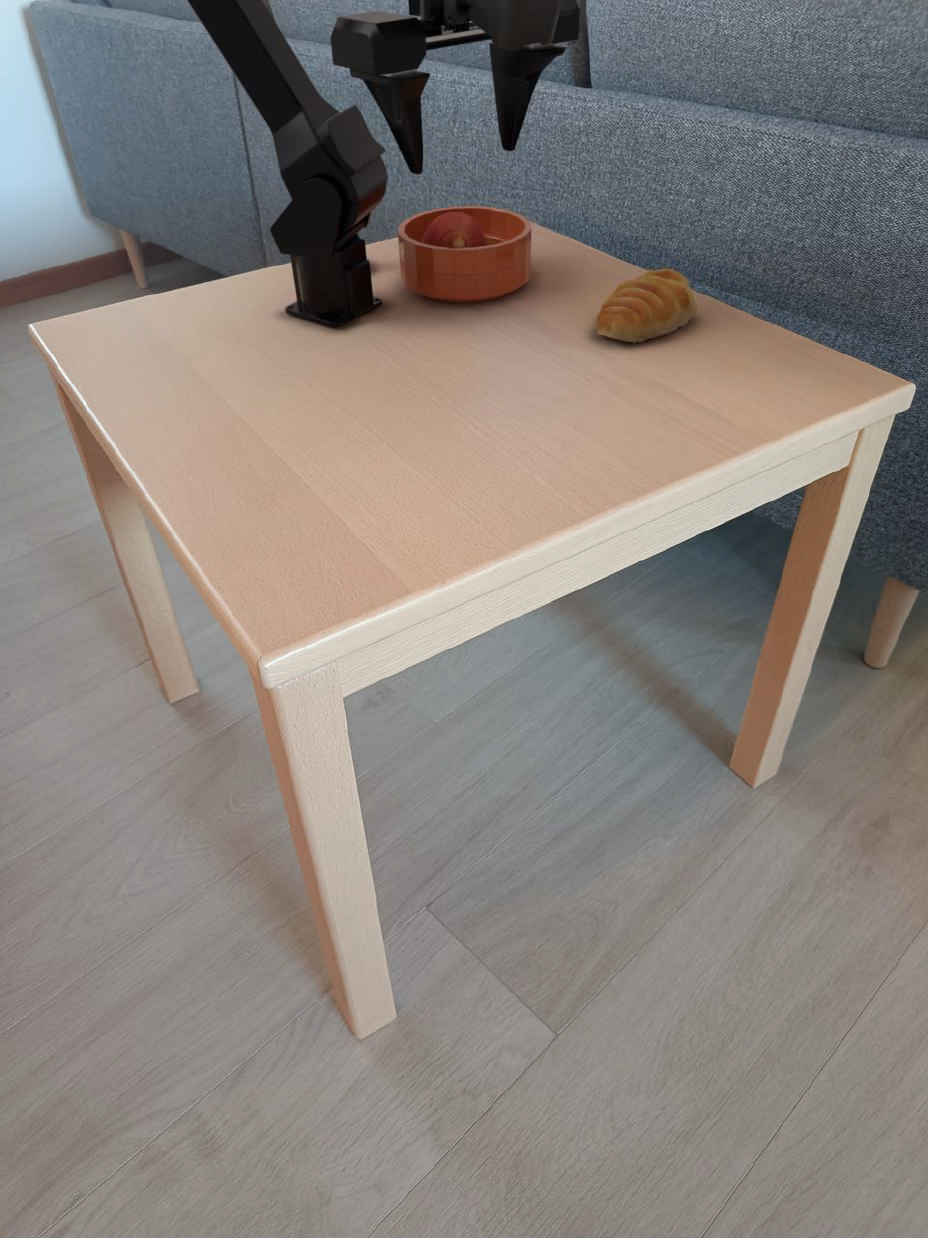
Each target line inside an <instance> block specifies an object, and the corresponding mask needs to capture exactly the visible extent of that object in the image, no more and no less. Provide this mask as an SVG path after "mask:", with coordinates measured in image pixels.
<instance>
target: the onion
mask: <svg viewBox="0 0 928 1238" xmlns="http://www.w3.org/2000/svg"><path fill="white" fill-rule="evenodd" d="M423 244H427V245H432V246H436V247H448V248H474V247H481V246H486V240H485V237H484V234H483V231H482V228H481V227H480V226H479V224H478V223H477V222H476V221H475V219H474V218H473V217H471V216H469V215H467V214H465V213H463V212H448V213H446V214H443V215H440V216H438V217H437V218H436V219H435V220H434V221H433V222H432V223H431V224H430V225H429V227H428V229H427V231H426V233H425V235H424V237H423Z"/></svg>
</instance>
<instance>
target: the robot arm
mask: <svg viewBox="0 0 928 1238" xmlns="http://www.w3.org/2000/svg"><path fill="white" fill-rule="evenodd" d="M186 1H187V3H188V5H189V6H190V8H191V9H192V10H193V13H194V14H195V15H196V17H197V19H198V21H200V23H201V25H202V27H203V28H204V29H205V32H206V33H207V34H208V36H209V37H210V39H211V41H212V42H213V43H214V45H215V46H216V48H217V50H218V51H219V53H220V54H221V56H222V57H223V59H224V61H225V62H226V64H227V66H228V67H229V69H230V70H231V72H232V74H234V76H235V78H236V79H237V81H238V83H239V84H240V86H241V87H242V89H243V90H244V92H245V94H246V95H247V97H248V98H249V100H250V102H251V103H252V104H253V106H254V107H255V109H256V111H257V112H258V114H259V115H260V117H261V118H262V120H263V121H264V123H265V124H266V126H267V127H268V129H269V132H270V134H271V137H272V142H273V146H274V152H275V155H276V160H277V166H278V170H279V175H280V177H281V180H282V181H283V183H284V186H285V188H286V190H287V192H288V194H289V196H290V198H291V201H290V202H289V203H288V205H287V206H286V207H285V209H284V210H283V211H282V213H280V215H279V216H278V218H276V220H275V221H274V223H273V224H272V225H271V226H270V228H269V229H270V230H269V231H270V234H271V237H272V239H273V241H274V242H275V244H276V247H277V249H278V251H279V252H280V254H281V255H288V256H289V258H290V264H291V265H290V266H291V271H292V277H293V284H294V289H295V290H294V291H295V297H296V301H295V302H293V303H291V304H289V305H287V306H286V307H284V310H285V314H287V315H290V316H293V317H296V318H300V319H303V320H306V321H309V322H313V323H316V324H320V325H323V326H326V327H330V328H333V329H340V328H342V327H343V326H345V325H348V324H349V323H351V322H353V321H355V320H357V319H359V318H361V317H363V316H365V315H366V314H369V313H371V312H373V311H374V310H376V309H379V308H380V307H382V306H383V305H384V301H383V298H381V297H377V296H374V292H373V290H374V289H373V281H372V280H373V279H372V271H371V261H370V260H369V259H367V258H368V257H367V246H366V240H365V239H364V238H360V235H359V234H358V233H360V232H361V231H362V230H363V229H365V228H367V227H368V226H370V225H369V224H370V222H371V217H372V213H373V210H374V209H376V208H377V206H379V204H380V203H382V201H383V200H384V199H383V198H384V197H385V194H386V192H387V191H386V190H387V183H388V178H389V176H388V171H387V167H386V164H385V163H384V162H385V161H384V159H383V158H382V156H381V155H383V154H384V153H385V152H386V148H385V147H383V145H381V144H380V143H379V142H378V141H377V140H376V139H375V137H374V136H373V135H372V133H371V131H370V129H369V127H368V125H367V122H366V120H365V117H364V115H363V113H362V112H361V110H360V108H359V107H358V106H357V105H356V104H352V105H351V106H349V107H347V108H345V109H343V110H342V111H339V110H338V109H337V108H335V107H334V106H333V105H331V103H329V102H328V101H327V100H325V99H324V98H323V97H322V95H321V94H320V93H319V91H318V90H317V88H316V86H315V85H314V83H313V82H312V80H311V78H310V77H309V75H308V73H307V72H306V71H305V68H304V67H303V65H302V64H301V62H300V60H299V59H298V57H297V56H296V54H295V51H294V50H293V49H292V47H291V45H290V44H289V43H288V41H287V39H286V38H285V36H284V34H283V32H282V30H281V29H280V28H279V26H278V24H277V23H276V21H275V19H274V18H273V16H272V14H271V13H270V11H269V9H268V8H267V6H266V4H265V2H264V1H263V0H186ZM407 3H408V15H404V14H399V13H395V12H394V13H393V12H387V11H382V10H377V11H368V12H361V13H355V14H347V15H341V16H337V19H336V21H335V24H334V25H333V29H332V31H331V34H330V37H329V38H330V47H331V48H330V49H331V56H332V58H331V59H332V65H333V66H337V67H341V68H346V69H349V74H350V77H352V78H355V79H359V80H362V81H363V83H364V85H365V87H366V88H367V90H368V91H369V93H370V94H371V95H370V96H371V97H372V98H373V100H374V101H375V103H376V105H377V107H378V108H379V110H380V112H381V113H382V115H383V117H384V119H385V121H386V124H387V125H388V127H389V129H390V130H389V131H390V132H391V134H392V136H393V139H394V140H395V143H396V144H397V146H398V149H399V151H400V153H401V155H402V158H403V160H404V162H405V164H406V166H407V168H408V170H409V172H410V173H412V174H414V175H416V176H418V175H422V174H423V172H424V138H423V137H424V135H423V117H422V96H423V95H422V94H423V93H424V90H425V88H426V86H427V83H428V81H429V79H430V77H431V73H430V72H426V71H421V70H419V68H420V66H421V64H422V63H423V61H424V59H425V57H426V55H427V54H428V53H427V52H428V51H433V50H438V49H444V48H451V47H455V46H456V47H457V46H461V45H466V44H472V43H473V44H474V43H478V42H484V41H489V40H490V41H491V42H488V46H489V56H490V57H489V58H490V66H491V73H492V83H493V92H494V100H495V110H496V119H497V127H498V133H499V138H500V142H501V147H502V149H503V150H504V151H507V152H513V151H515V150H516V147H517V144H518V141H519V138H520V135H521V131H522V129H523V125H524V122H525V119H526V116H527V113H528V110H529V105H530V103H531V100H532V97H533V94H534V91H535V89H536V86H537V84H538V81H539V79H540V77H541V75H542V73H543V72H544V70H546V68H547V67H548V66H549V65H550V64H551V63H552V62H553V61H554V60H555V59H556V58H557V57H559V56H563V55H564V54H565V53H566V51H567V46H566V45H562V43H568V42H573V41H578V40H579V39H580V38H579V37H580V22H581V21H580V20H581V9H580V7H579V5H578V3H577V0H407ZM418 17H419V18H420V19H419V18H418Z"/></svg>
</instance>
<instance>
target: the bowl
mask: <svg viewBox="0 0 928 1238" xmlns="http://www.w3.org/2000/svg"><path fill="white" fill-rule="evenodd" d="M448 212H463V213H465V214H467V215H469V216H471V217H473V218H474V219H475V221H476V222H477V223H478V224H479V226H480V227H481V228H482V231H483V234H484V237H485V240H486V246H481V247H474V248H448V247H436V246H432V245H427V244H423V237H424V235H425V233H426V231H427V229H428V227H429V225H430V224H431V223H432V222H433V221H434V220H435V219H436V218H437V217H438V216H440V215H443V214H446V213H448ZM397 240H398V241H397V242H398V253H399V254H398V255H399V268H400V269H399V270H400V279H401V282H402V284H404V286H405V287H406V288H408V289H409V290H411V291H413V292H414V293H417V294H418V295H423V296H424V297H427V298H431V299H433V300H438V301H443V302H452V303H471V302H473V303H474V302H482V301H487V300H492V299H496V298H500V297H502V296H505V295H507V294H509V293H512V292H514V291H516V290H517V289H519V288H521V287H523V286H524V285H526V283H527V282H528V281H529V280H530V278H531V271H532V267H531V265H532V223H531V221H530V220H529V219H528V218H527V217H525V216H524V215H522V214H520V213H517V212H514V211H511V210H507V209H504V208H498V207H493V206H492V207H491V206H479V205H467V206H450V207H449V206H447V207H441V208H435V209H430V210H425V211H422V212H419V213H417V214H415V215H412V216H410V217H407V218H405V220H403V221H402V222H400V224H399V225H398V229H397Z"/></svg>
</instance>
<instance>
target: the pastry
mask: <svg viewBox="0 0 928 1238" xmlns="http://www.w3.org/2000/svg"><path fill="white" fill-rule="evenodd" d="M689 283H690V282H689V280H688V278H687V277H686V276H685V275H684V274H682V273H680V272H679V271H676V270H674V269H671V268H662V269H657V270H654V269H648V270H647V271H646V273H644V274H641V275H640V276H638V277H636V278H633V279H629V280H626V281H624V282H622V283H620V284H618V286H617V288H616V289H615V290H614V291H612V292H611V294H610V295H609V296H608V297H607V298H606V300H605V301H604V303H603V304H602V305H601V309H600V311H599V312H598V314H597V315H596V317H595V319H596V329H597V332H596V333H597V335H599V336H600V335H601V336H605V337H607V338H608V337H609V338H610V339H616V340H619V341H623V342H628V343H633V344H636V343H643V342H645V341H646V340H649V339H658V338H659V337H662V336H665V335H668V334H671V333H672V332H675V331H677V329H678V328H680V327H681V328H683V327H684V326H686V325H687V324H688V323H689V321H690V320H691V319H692V318H693V316H694V315H695V314H696V313H697V312H698V309H699V304H698V302H697V300H696V299H695V293H694V292H693V291H694V290H692V288H691V286H690V284H689Z"/></svg>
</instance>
